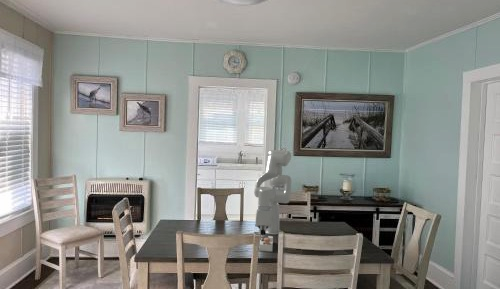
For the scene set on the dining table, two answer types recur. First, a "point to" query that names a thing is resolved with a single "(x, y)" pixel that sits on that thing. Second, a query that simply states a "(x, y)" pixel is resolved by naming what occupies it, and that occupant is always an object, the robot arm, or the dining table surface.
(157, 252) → the dining table surface
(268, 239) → the button
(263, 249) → the panel
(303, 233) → the dining table surface
